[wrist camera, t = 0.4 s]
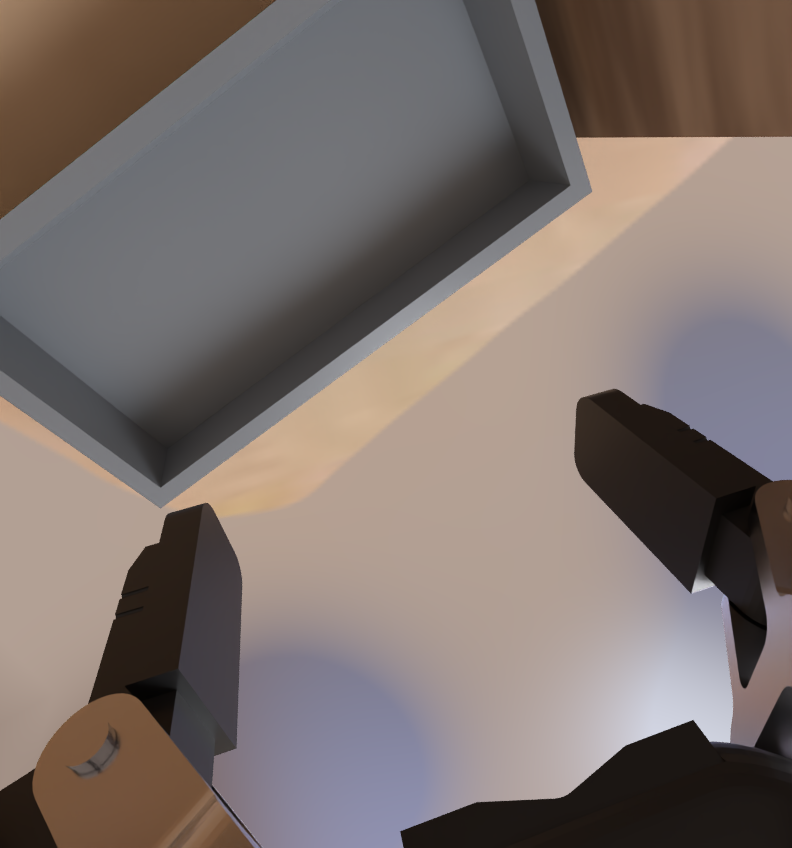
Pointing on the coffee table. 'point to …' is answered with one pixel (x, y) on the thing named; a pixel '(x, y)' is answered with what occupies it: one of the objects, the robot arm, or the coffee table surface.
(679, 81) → the stand
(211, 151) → the tray
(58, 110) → the coffee table surface
